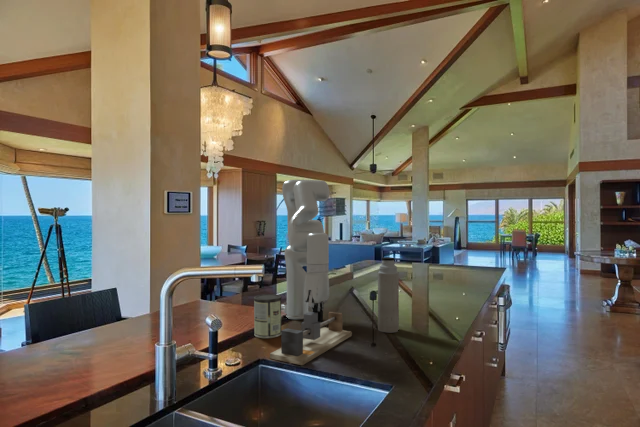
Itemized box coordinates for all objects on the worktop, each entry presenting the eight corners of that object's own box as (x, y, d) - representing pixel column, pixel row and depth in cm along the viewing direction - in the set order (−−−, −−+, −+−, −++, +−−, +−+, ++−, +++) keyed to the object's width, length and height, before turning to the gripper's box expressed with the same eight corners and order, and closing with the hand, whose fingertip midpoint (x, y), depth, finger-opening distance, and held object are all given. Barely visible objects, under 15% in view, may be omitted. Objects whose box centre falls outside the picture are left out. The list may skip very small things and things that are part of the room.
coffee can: (261, 329, 156) (261, 293, 156) (286, 331, 153) (286, 294, 153) (248, 336, 146) (248, 298, 147) (274, 339, 143) (274, 300, 143)
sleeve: (301, 337, 134) (301, 313, 134) (307, 334, 137) (307, 311, 137) (314, 340, 131) (314, 315, 131) (320, 336, 135) (320, 313, 135)
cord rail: (269, 358, 124) (269, 330, 124) (323, 331, 154) (323, 308, 154) (302, 365, 118) (302, 336, 118) (351, 335, 148) (351, 312, 148)
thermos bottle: (398, 327, 159) (398, 256, 159) (398, 333, 151) (398, 258, 151) (378, 326, 160) (378, 256, 160) (377, 332, 152) (377, 258, 153)
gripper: (318, 265, 147) (319, 315, 146) (296, 270, 134) (296, 325, 133) (337, 266, 143) (337, 318, 143) (316, 271, 130) (316, 328, 130)
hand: (317, 321), depth 138 cm, fingers closed
